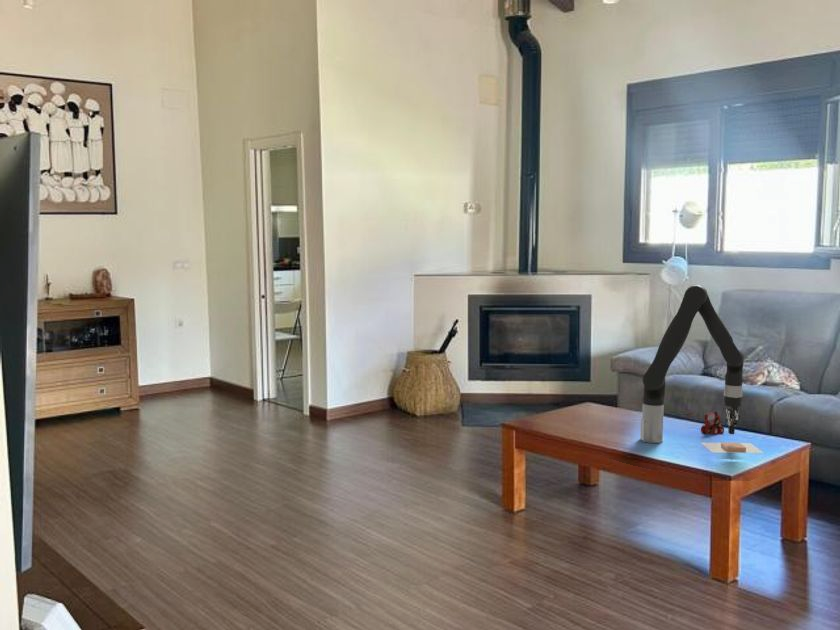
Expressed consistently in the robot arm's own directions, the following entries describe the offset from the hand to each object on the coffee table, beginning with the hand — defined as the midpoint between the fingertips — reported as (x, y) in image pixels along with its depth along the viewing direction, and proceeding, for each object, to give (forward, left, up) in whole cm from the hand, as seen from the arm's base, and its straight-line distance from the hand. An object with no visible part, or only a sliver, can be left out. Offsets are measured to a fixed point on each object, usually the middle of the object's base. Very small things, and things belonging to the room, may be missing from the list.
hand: (731, 433), depth 345 cm
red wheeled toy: (+1, +27, -7) cm, 28 cm away
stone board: (0, -1, -7) cm, 7 cm away
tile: (0, +1, -5) cm, 5 cm away
